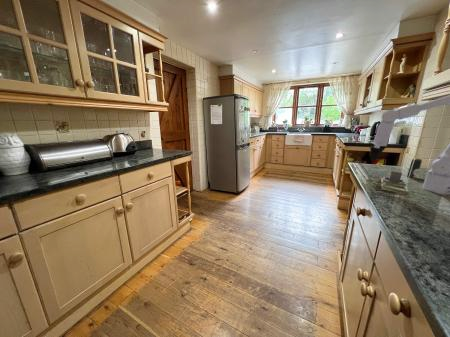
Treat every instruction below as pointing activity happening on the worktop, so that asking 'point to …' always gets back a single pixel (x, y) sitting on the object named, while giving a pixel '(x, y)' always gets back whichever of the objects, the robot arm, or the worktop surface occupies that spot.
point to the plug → (395, 176)
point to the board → (394, 186)
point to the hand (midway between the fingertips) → (373, 159)
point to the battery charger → (414, 167)
